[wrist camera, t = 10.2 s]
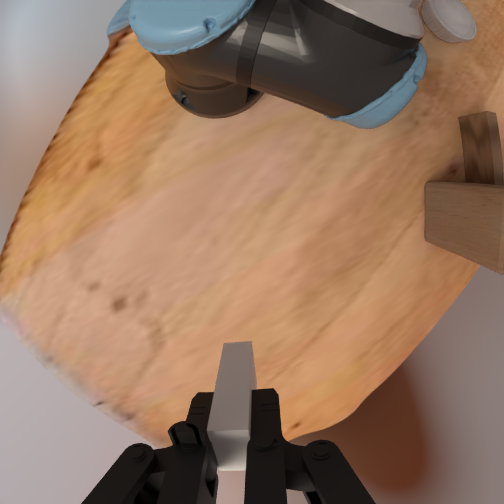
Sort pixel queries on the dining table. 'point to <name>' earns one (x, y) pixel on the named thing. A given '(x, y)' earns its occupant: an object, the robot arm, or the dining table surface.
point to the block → (467, 221)
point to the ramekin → (449, 20)
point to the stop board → (482, 148)
